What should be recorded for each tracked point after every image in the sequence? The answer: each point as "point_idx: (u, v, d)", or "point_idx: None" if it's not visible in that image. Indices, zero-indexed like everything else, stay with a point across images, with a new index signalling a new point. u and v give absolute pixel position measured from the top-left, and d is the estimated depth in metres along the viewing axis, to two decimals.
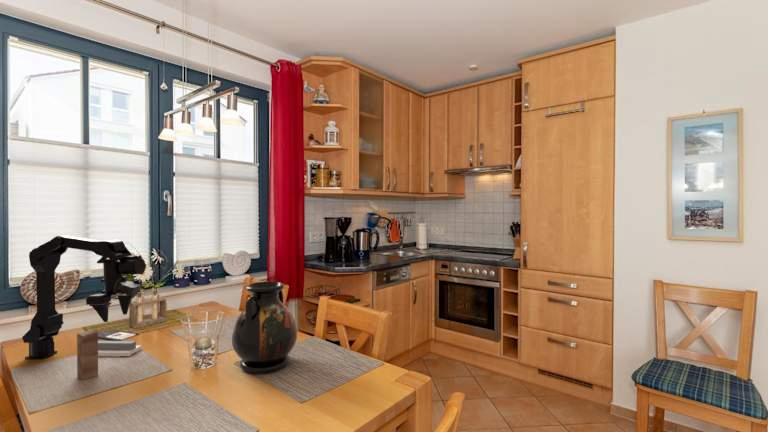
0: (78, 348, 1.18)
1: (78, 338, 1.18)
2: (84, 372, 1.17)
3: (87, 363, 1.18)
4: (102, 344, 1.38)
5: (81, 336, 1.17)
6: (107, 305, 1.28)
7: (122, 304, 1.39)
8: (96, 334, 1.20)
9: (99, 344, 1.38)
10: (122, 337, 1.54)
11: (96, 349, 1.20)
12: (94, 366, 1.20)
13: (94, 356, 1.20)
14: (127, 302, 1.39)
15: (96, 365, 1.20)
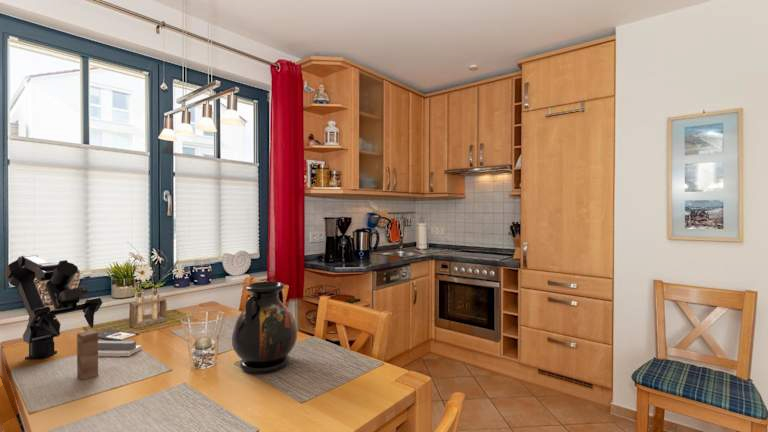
0: (78, 348, 1.18)
1: (78, 338, 1.18)
2: (84, 372, 1.17)
3: (87, 363, 1.18)
4: (102, 344, 1.38)
5: (81, 336, 1.17)
6: (48, 316, 1.19)
7: (87, 319, 1.29)
8: (96, 334, 1.20)
9: (99, 344, 1.38)
10: (122, 337, 1.54)
11: (96, 349, 1.20)
12: (94, 366, 1.20)
13: (94, 356, 1.20)
14: (89, 314, 1.29)
15: (96, 365, 1.20)
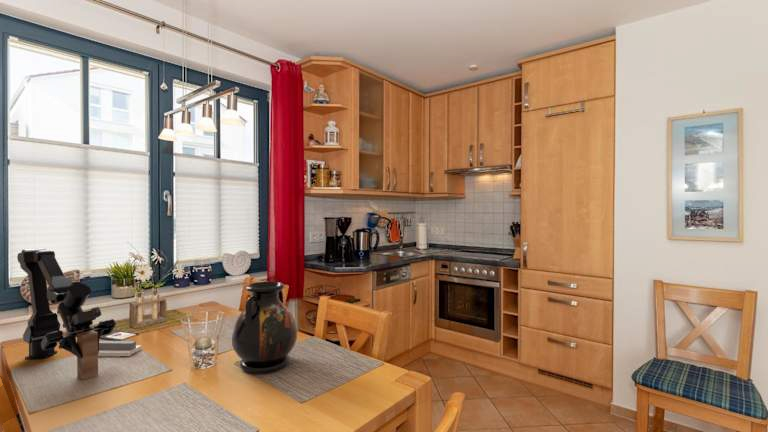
0: None
1: (78, 338, 1.18)
2: (84, 372, 1.17)
3: (87, 363, 1.18)
4: (102, 344, 1.38)
5: (81, 336, 1.17)
6: (70, 338, 1.17)
7: None
8: (96, 334, 1.20)
9: (99, 344, 1.38)
10: (122, 337, 1.54)
11: (96, 349, 1.20)
12: (94, 366, 1.20)
13: (94, 356, 1.20)
14: None
15: (96, 365, 1.20)
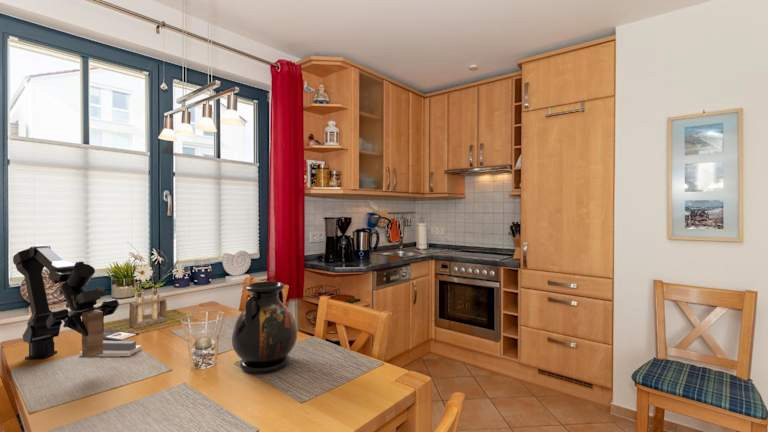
0: None
1: (83, 317, 1.20)
2: (89, 350, 1.19)
3: (93, 341, 1.20)
4: None
5: (87, 314, 1.19)
6: (75, 317, 1.18)
7: None
8: (101, 313, 1.22)
9: None
10: (122, 337, 1.54)
11: (101, 328, 1.22)
12: (99, 344, 1.21)
13: (99, 335, 1.21)
14: None
15: (101, 343, 1.22)
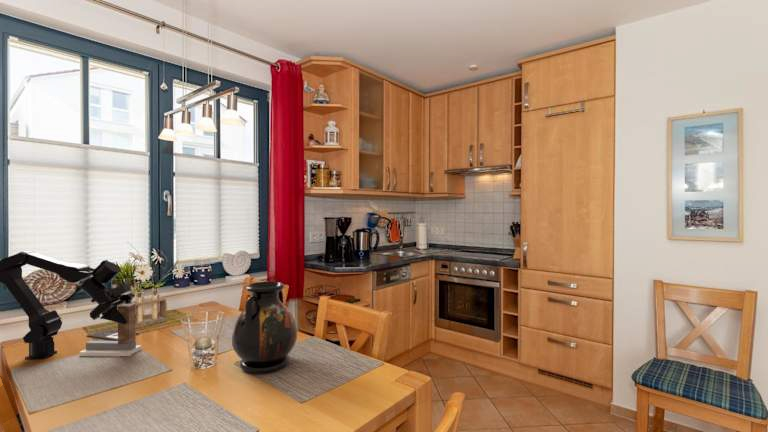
0: None
1: (120, 310, 1.37)
2: (129, 337, 1.38)
3: (131, 329, 1.39)
4: (102, 344, 1.38)
5: (126, 307, 1.37)
6: (115, 308, 1.34)
7: None
8: (134, 305, 1.41)
9: (99, 344, 1.38)
10: None
11: (134, 318, 1.41)
12: (134, 332, 1.40)
13: (133, 324, 1.40)
14: None
15: (134, 331, 1.41)
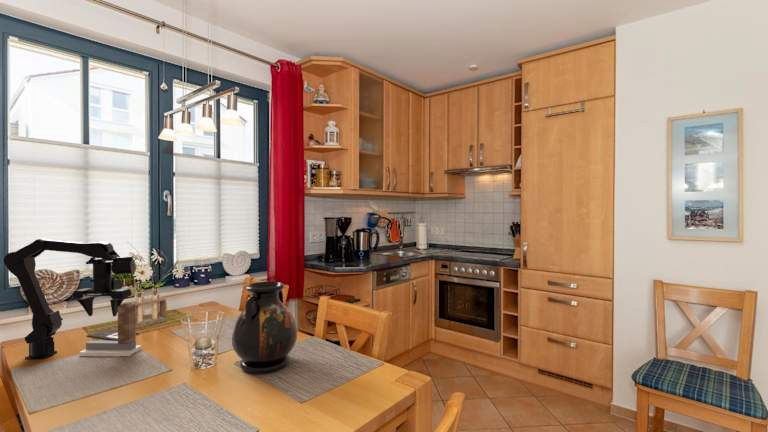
0: (120, 318, 1.37)
1: (120, 309, 1.37)
2: (129, 337, 1.38)
3: (131, 329, 1.39)
4: (102, 344, 1.38)
5: (126, 307, 1.37)
6: None
7: (88, 306, 1.41)
8: (134, 305, 1.41)
9: (99, 344, 1.38)
10: None
11: (134, 318, 1.41)
12: (134, 332, 1.40)
13: (133, 324, 1.40)
14: (92, 303, 1.43)
15: (134, 331, 1.41)
